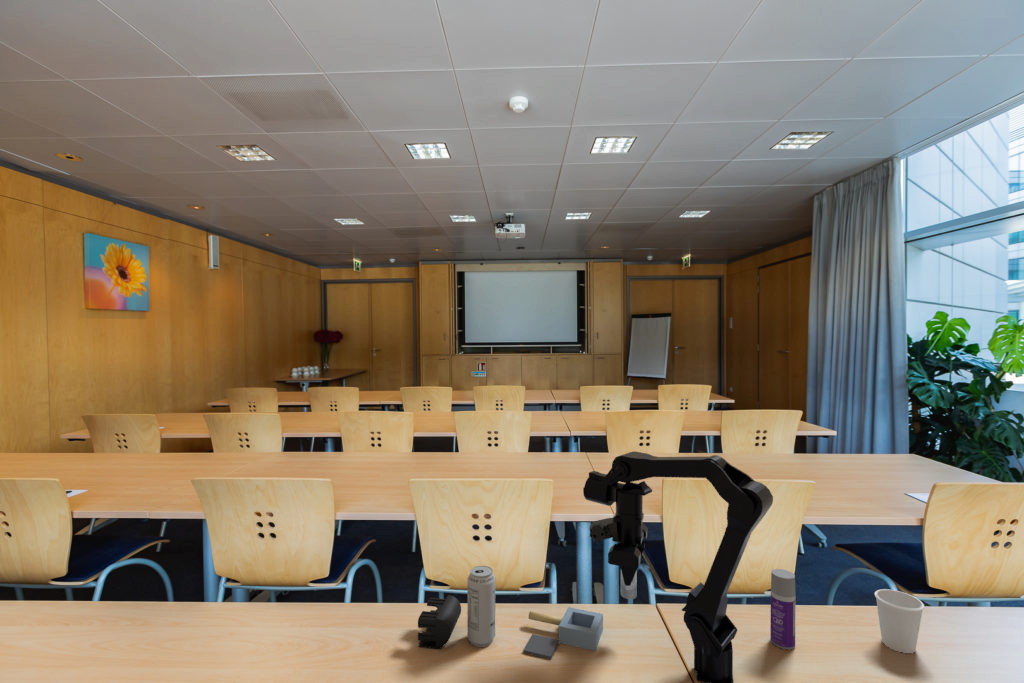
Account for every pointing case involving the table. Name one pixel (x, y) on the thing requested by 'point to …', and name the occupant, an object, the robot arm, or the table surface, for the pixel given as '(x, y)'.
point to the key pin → (629, 588)
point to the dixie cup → (899, 619)
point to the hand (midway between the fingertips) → (628, 581)
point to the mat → (541, 646)
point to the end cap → (438, 622)
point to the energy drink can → (481, 606)
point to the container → (783, 608)
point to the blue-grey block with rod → (575, 627)
